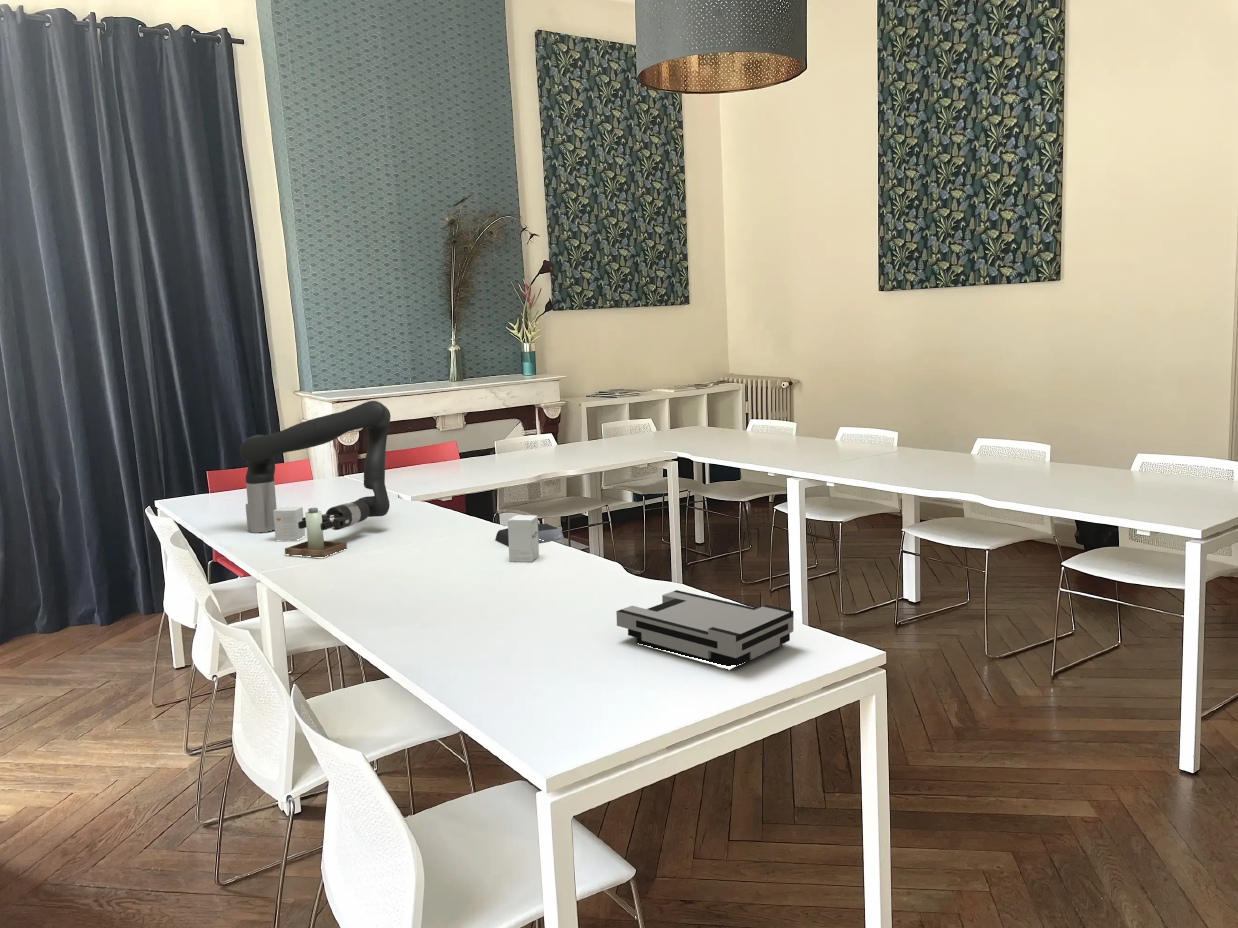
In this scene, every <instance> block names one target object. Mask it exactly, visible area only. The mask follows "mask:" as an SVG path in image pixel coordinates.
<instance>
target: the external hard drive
mask: <svg viewBox="0 0 1238 928" xmlns="http://www.w3.org/2000/svg"><path fill="white" fill-rule="evenodd" d="M562 531H563V530H561V528H558V527H556V526H553V525H551V524H548V523H538V542H539V544H541V543H540V542H543V543H546V542H545V541H549V542H554V541H555V542H556V541H560V540H564V539H565V538H564V534H563V532H562ZM494 539H495V541H496V542H498V543H500V544H501V545H504V546H506V547H508V548H509V539H508V527H507V528H502V529H499V530H498V531H497V532H496V536H495V538H494ZM539 539H541V540H539ZM542 540H544V541H542ZM549 542H548V543H549Z"/></svg>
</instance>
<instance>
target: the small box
mask: <svg viewBox="0 0 1238 928" xmlns="http://www.w3.org/2000/svg"><path fill="white" fill-rule="evenodd" d="M273 515H274V526H275V531H274V535H275V541H276V540H297V539H300V538H302V537H303V536H305V537H306V531H305V529H306V528H303V529H299V527H298V522H300V521H302V518H305V517H304V509H303V506H295V507H294V506H291V507H289V506H285V507H282V506H281V507H278V508H277V509H276V510H274V511H273Z"/></svg>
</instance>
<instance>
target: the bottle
mask: <svg viewBox="0 0 1238 928" xmlns="http://www.w3.org/2000/svg"><path fill="white" fill-rule="evenodd" d="M304 514H305V517H306V528H305V529H306V538H307V539H306V541H308V550H319V551H322V550H324V541H325V539H324V530H321V523H322V511H321V510H319V507H310V508H308V510H307V511H306V512H305V513H304Z"/></svg>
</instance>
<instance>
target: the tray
mask: <svg viewBox="0 0 1238 928" xmlns="http://www.w3.org/2000/svg"><path fill="white" fill-rule="evenodd" d="M347 543H348V542H344V541H329V540H324V550H322V551H319V550H308V540H306V541H303V542H300V543H297V544H294V545H291V546H288V547H285V548H284V555H285V554H289V555H302V556H311V557H325V556H327V555H330V554H333V553H335V552H339V551H341V550H344V549H347V550H348V545H347ZM339 553H340V552H339Z"/></svg>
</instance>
